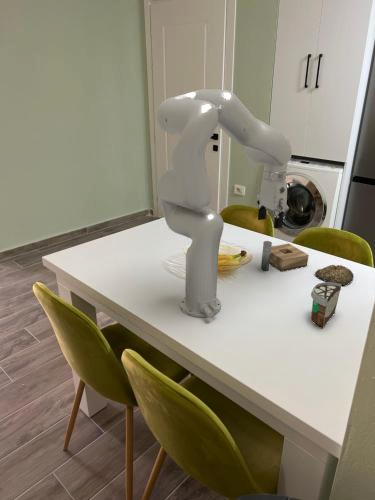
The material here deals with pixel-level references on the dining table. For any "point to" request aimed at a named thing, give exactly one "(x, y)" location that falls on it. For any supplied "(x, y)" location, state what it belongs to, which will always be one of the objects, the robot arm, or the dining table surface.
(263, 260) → the pin
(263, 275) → the dining table surface
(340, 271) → the bread roll
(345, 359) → the dining table surface
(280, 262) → the bore block
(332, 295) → the food container
